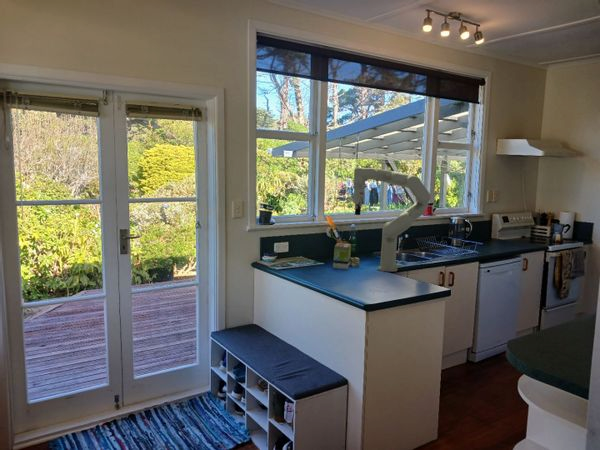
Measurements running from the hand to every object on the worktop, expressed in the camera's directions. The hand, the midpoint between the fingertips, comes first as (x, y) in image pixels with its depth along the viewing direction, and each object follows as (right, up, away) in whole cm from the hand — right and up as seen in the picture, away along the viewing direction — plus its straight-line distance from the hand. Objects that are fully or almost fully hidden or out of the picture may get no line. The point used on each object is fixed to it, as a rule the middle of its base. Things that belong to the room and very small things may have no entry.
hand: (357, 214), depth 295 cm
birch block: (-1, -34, +11) cm, 36 cm away
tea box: (-10, -35, +6) cm, 36 cm away
